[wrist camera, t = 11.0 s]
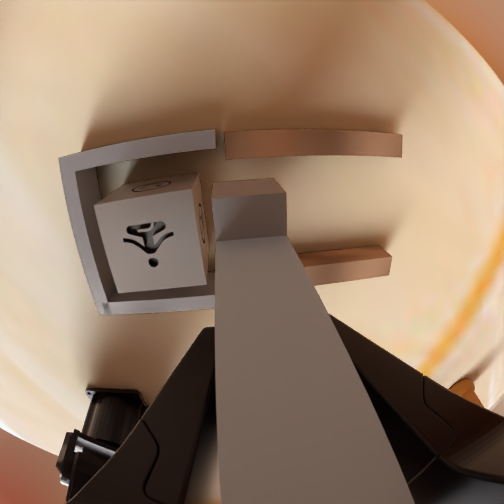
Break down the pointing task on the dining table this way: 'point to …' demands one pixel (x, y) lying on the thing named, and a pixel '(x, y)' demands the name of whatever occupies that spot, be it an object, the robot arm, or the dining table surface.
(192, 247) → the dice cube
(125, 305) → the box
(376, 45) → the dining table surface
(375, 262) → the slot rails
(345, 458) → the grey notched beam
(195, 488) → the robot arm
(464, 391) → the ornamental finial
